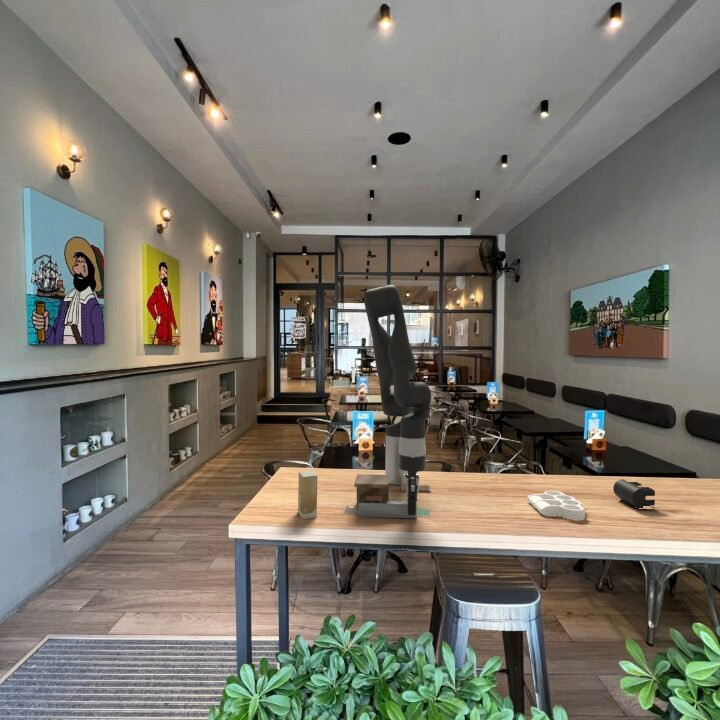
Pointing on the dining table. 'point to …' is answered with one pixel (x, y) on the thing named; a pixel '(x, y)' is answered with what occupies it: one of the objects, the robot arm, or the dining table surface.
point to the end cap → (633, 493)
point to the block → (374, 498)
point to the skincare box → (307, 494)
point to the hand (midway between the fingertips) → (411, 512)
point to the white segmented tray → (557, 505)
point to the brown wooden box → (372, 485)
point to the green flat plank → (356, 511)
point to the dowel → (420, 487)
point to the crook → (384, 508)
